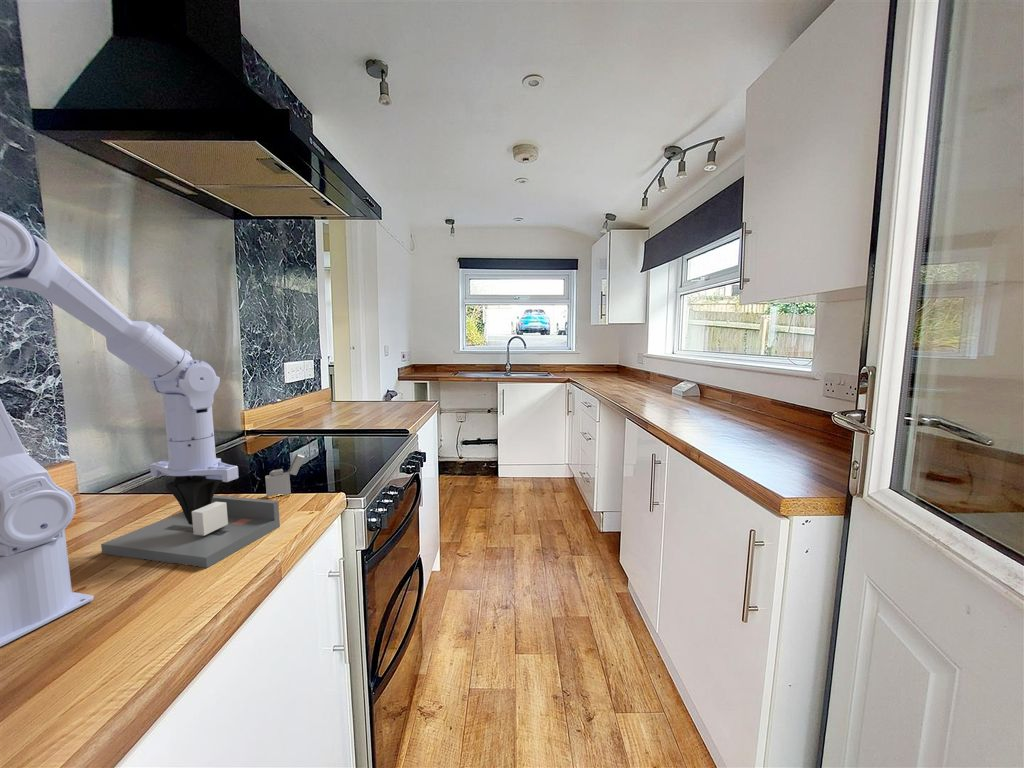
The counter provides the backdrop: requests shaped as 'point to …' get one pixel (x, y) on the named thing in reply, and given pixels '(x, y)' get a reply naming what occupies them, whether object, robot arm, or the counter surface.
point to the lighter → (282, 478)
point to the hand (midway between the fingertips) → (198, 521)
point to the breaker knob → (209, 518)
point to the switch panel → (183, 547)
